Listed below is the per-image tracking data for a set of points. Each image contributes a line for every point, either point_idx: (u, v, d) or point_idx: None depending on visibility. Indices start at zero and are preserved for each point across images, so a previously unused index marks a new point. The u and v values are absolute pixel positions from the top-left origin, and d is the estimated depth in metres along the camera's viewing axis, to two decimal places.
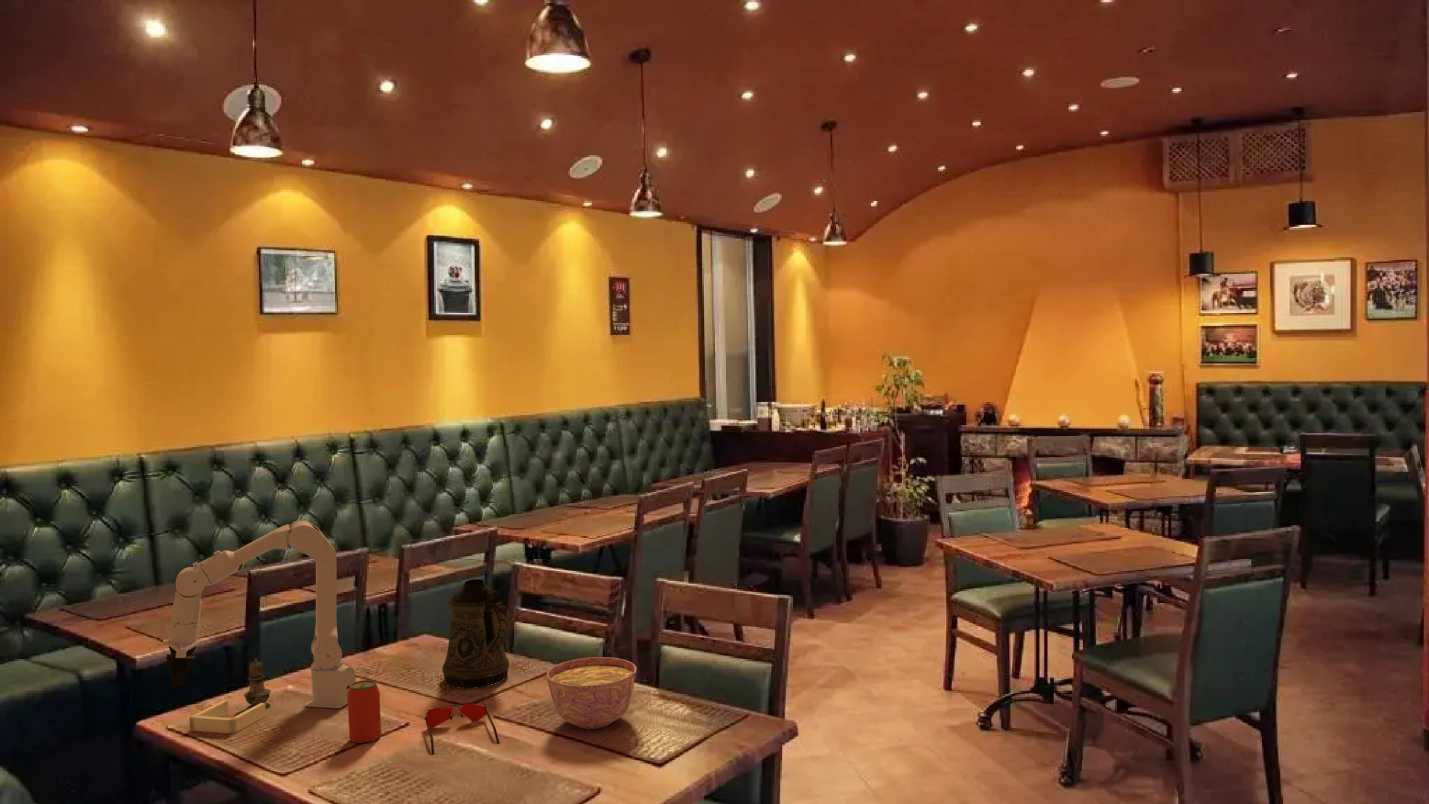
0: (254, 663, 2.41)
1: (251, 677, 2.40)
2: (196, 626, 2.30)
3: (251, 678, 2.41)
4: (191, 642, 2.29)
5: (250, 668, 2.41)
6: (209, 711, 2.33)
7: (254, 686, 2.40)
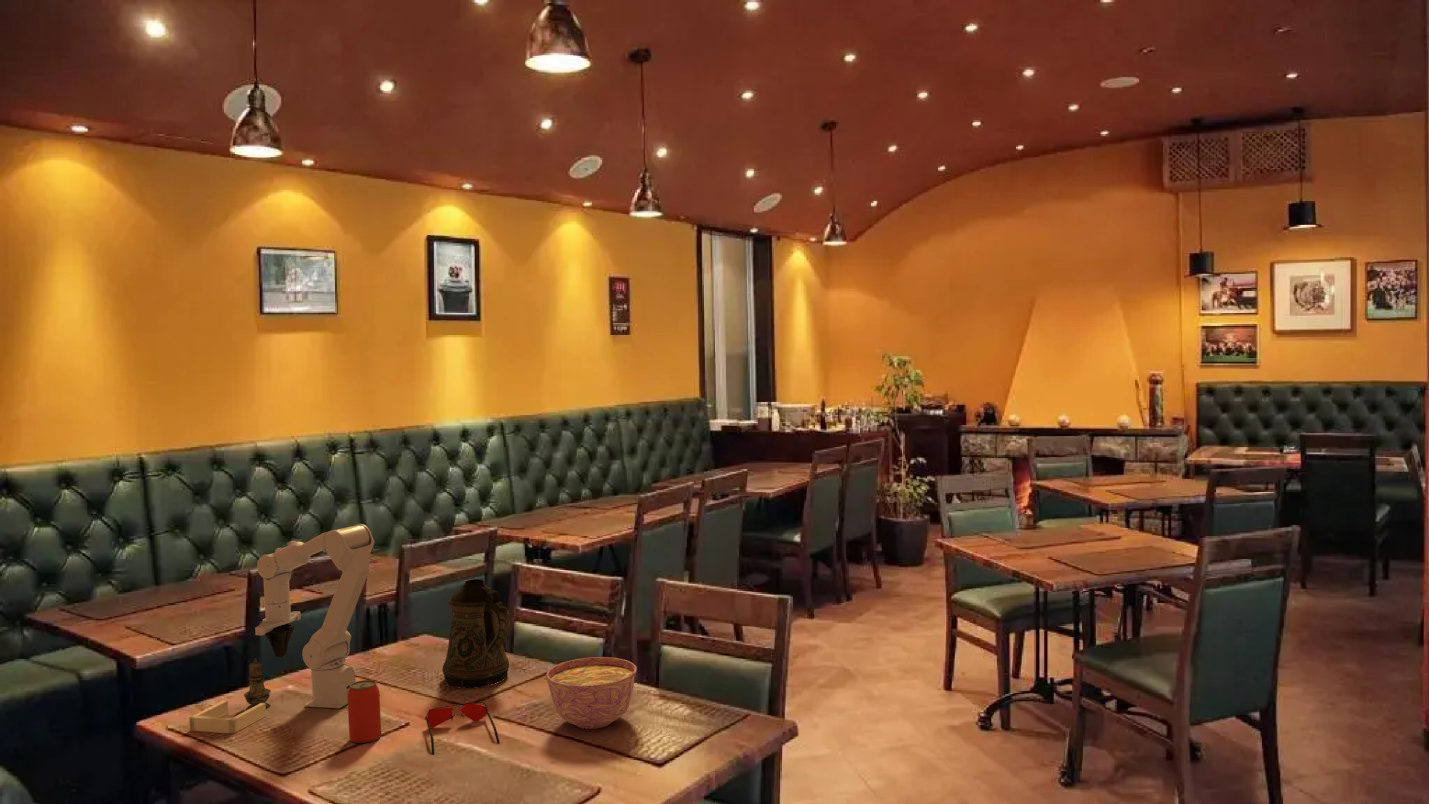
0: (254, 663, 2.41)
1: (251, 677, 2.40)
2: (282, 606, 2.48)
3: (251, 678, 2.41)
4: (278, 621, 2.47)
5: (250, 668, 2.41)
6: (209, 711, 2.33)
7: (254, 686, 2.40)
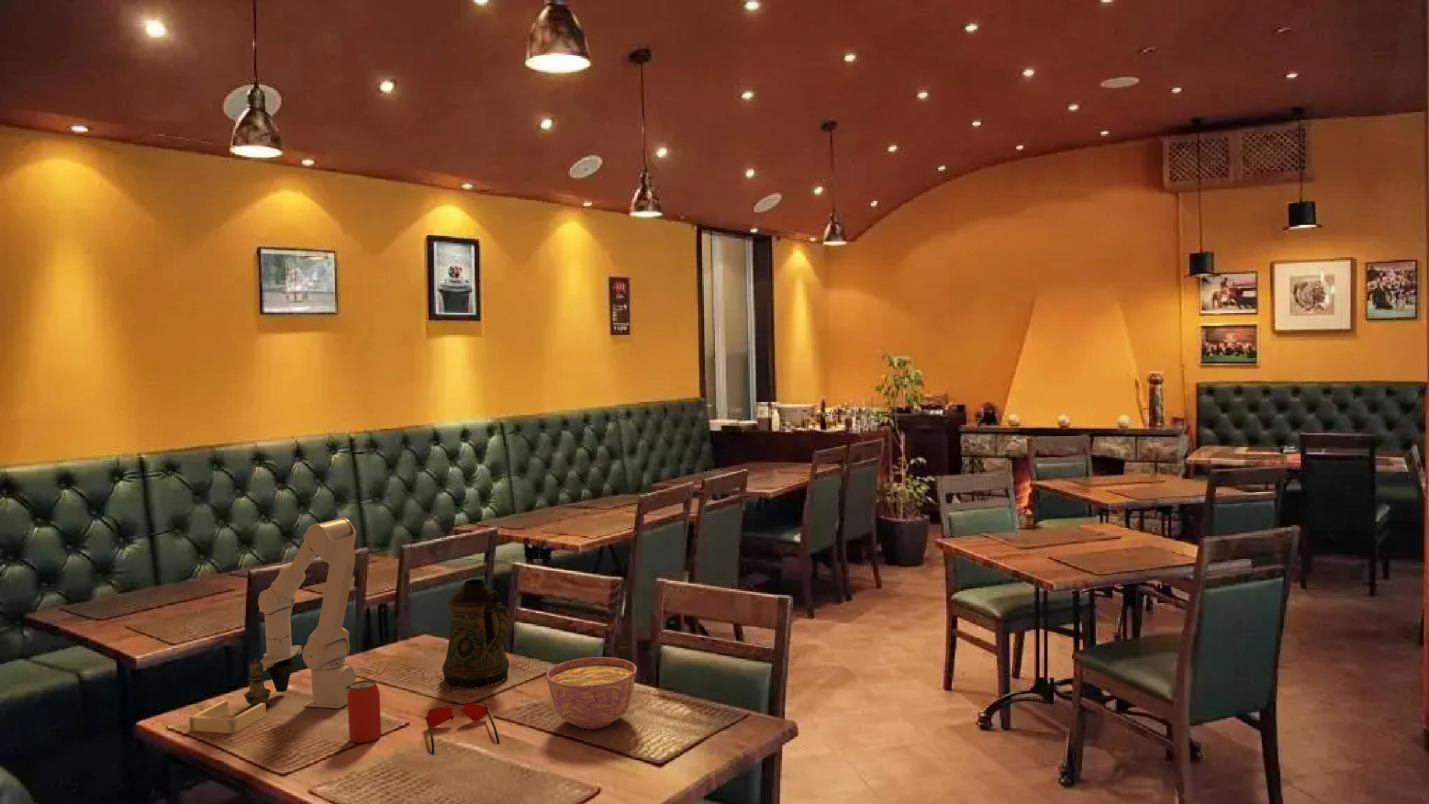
0: (254, 663, 2.41)
1: (251, 677, 2.40)
2: (283, 641, 2.48)
3: (251, 678, 2.41)
4: (279, 656, 2.47)
5: (250, 668, 2.41)
6: (209, 711, 2.33)
7: (254, 686, 2.40)
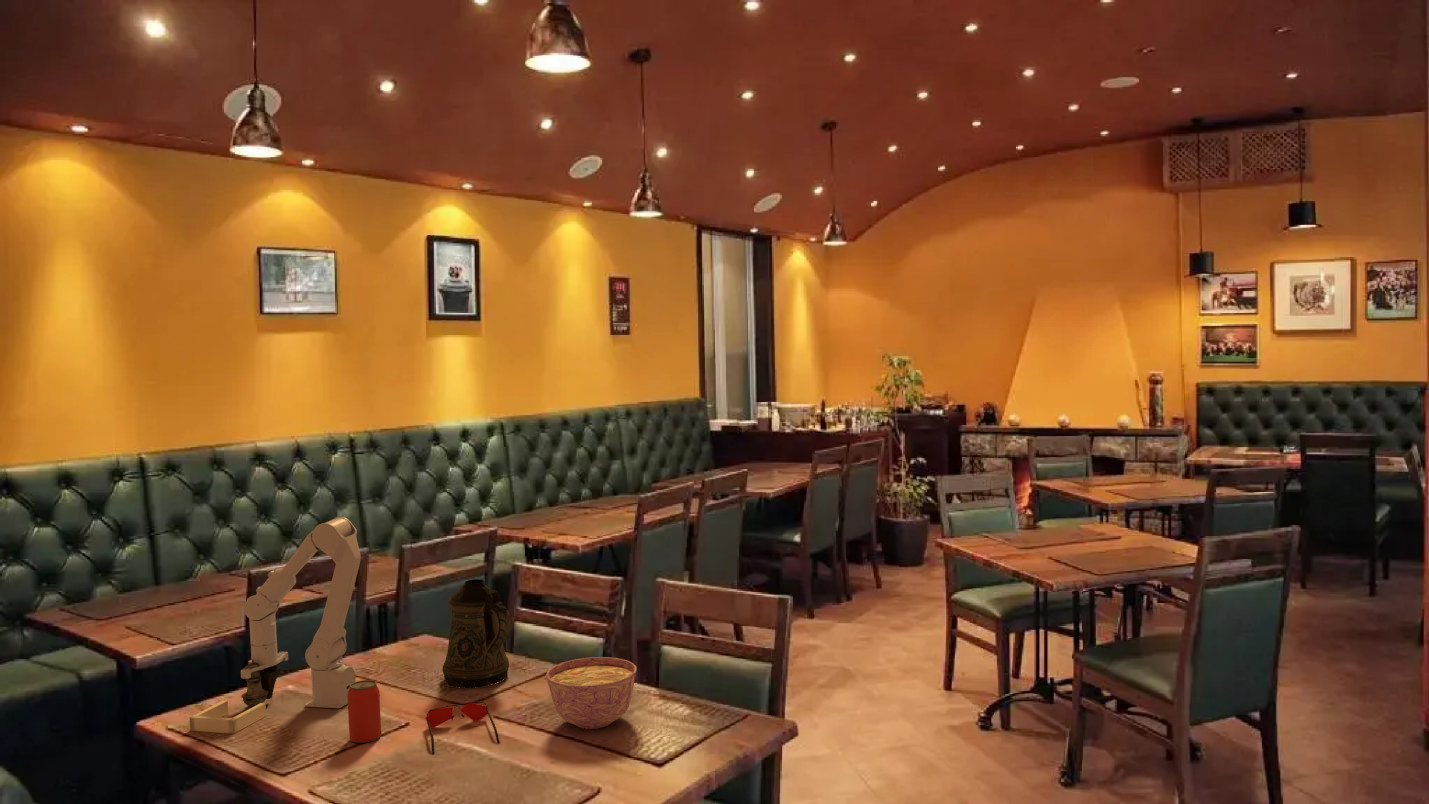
0: (251, 664, 2.40)
1: None
2: (268, 648, 2.43)
3: (248, 679, 2.40)
4: (264, 663, 2.42)
5: None
6: (209, 711, 2.33)
7: (251, 687, 2.40)
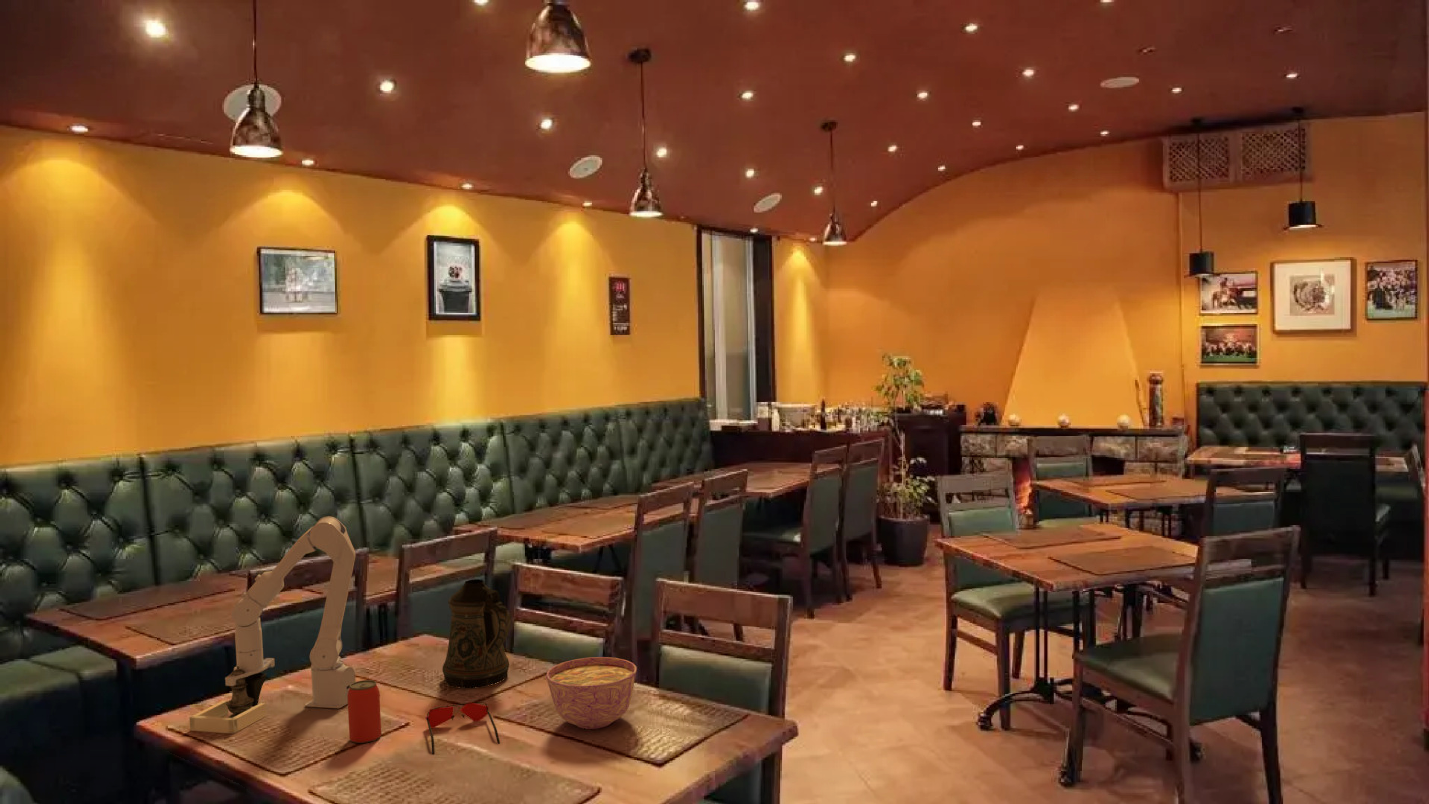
0: (236, 671, 2.35)
1: None
2: (253, 654, 2.38)
3: (233, 686, 2.35)
4: (250, 670, 2.37)
5: None
6: (209, 711, 2.33)
7: (236, 695, 2.35)
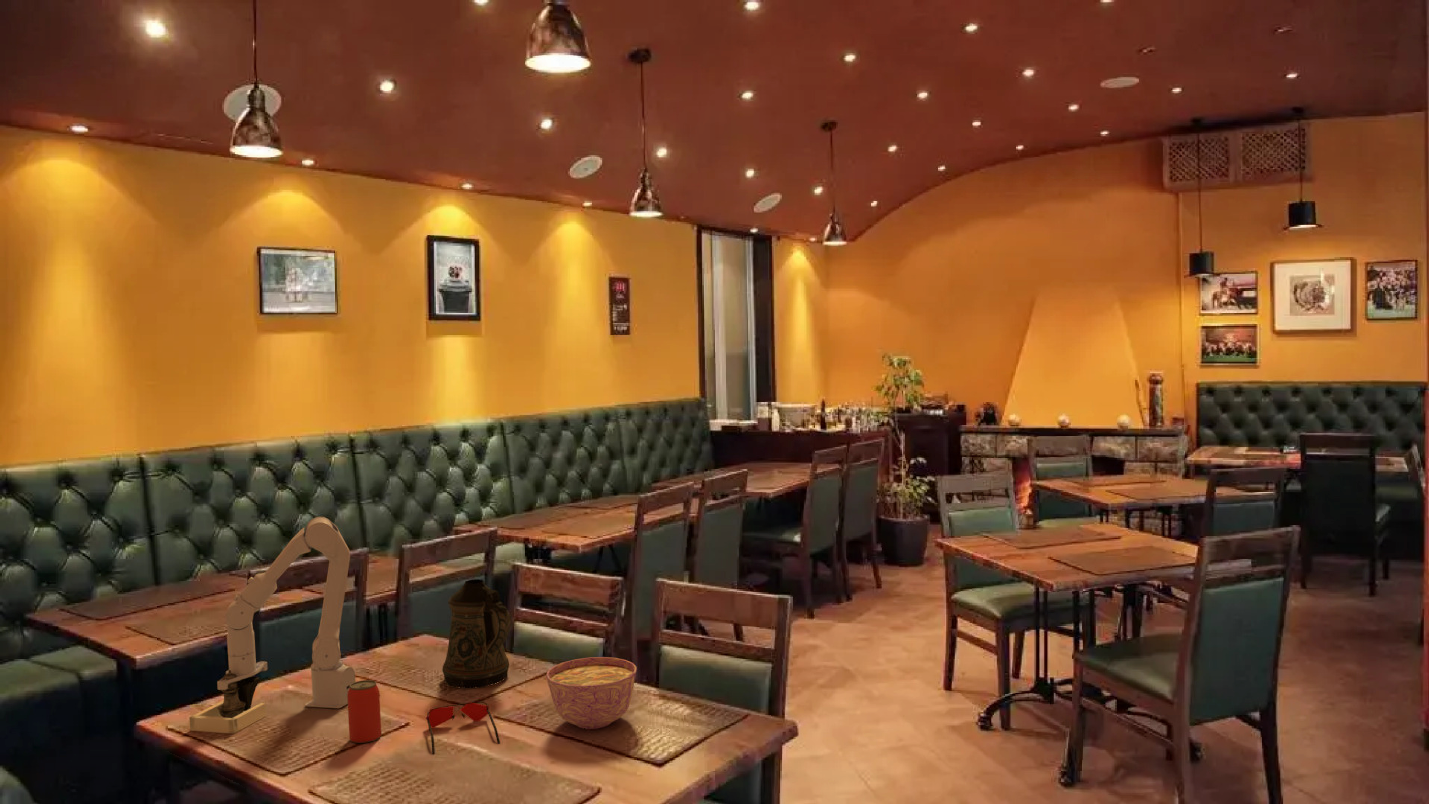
0: (228, 675, 2.32)
1: (225, 690, 2.32)
2: (246, 658, 2.35)
3: (225, 690, 2.32)
4: (242, 673, 2.35)
5: None
6: (209, 711, 2.33)
7: (228, 699, 2.32)
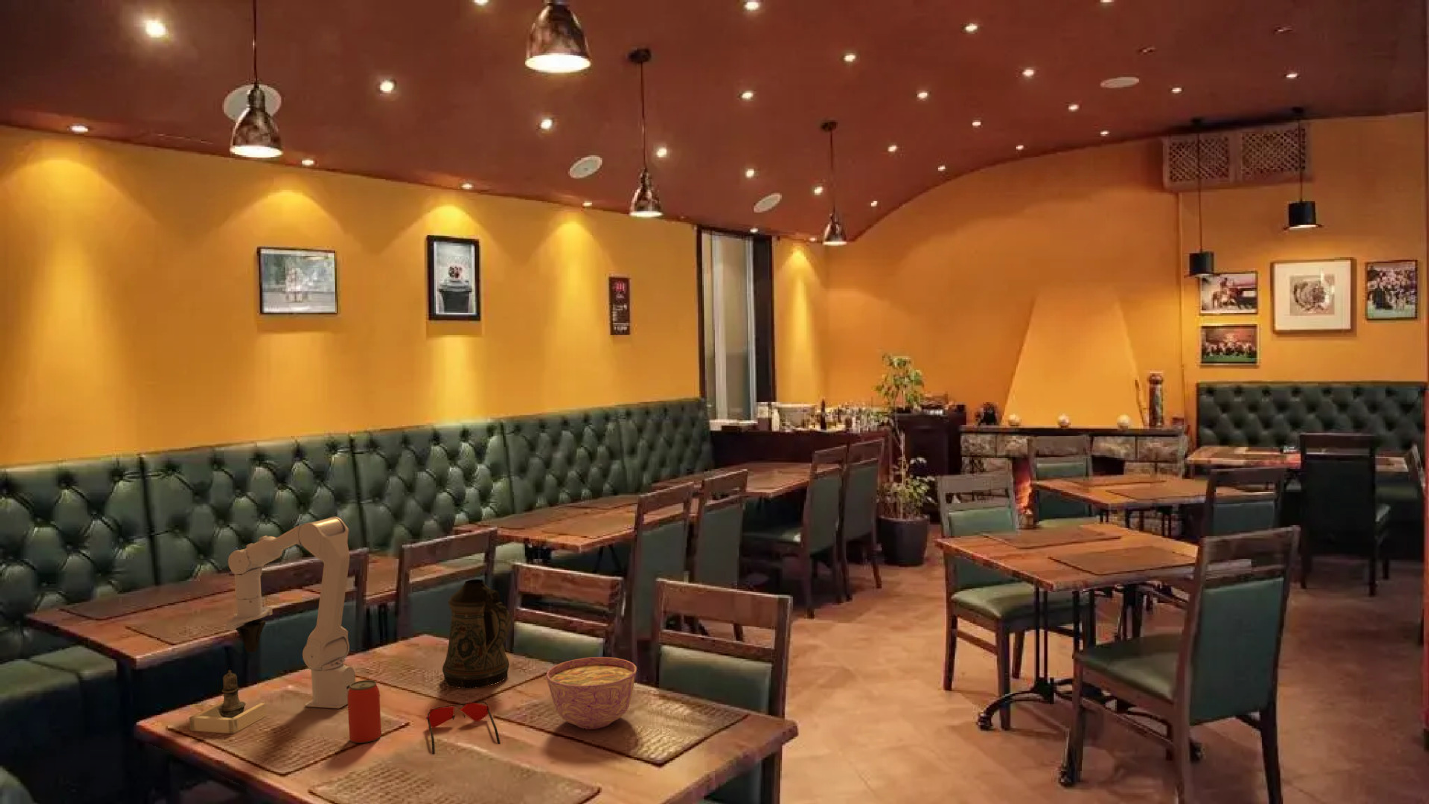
0: (228, 675, 2.32)
1: (225, 690, 2.32)
2: (253, 601, 2.49)
3: (225, 690, 2.32)
4: (249, 616, 2.49)
5: (224, 680, 2.32)
6: (209, 711, 2.33)
7: (228, 699, 2.32)
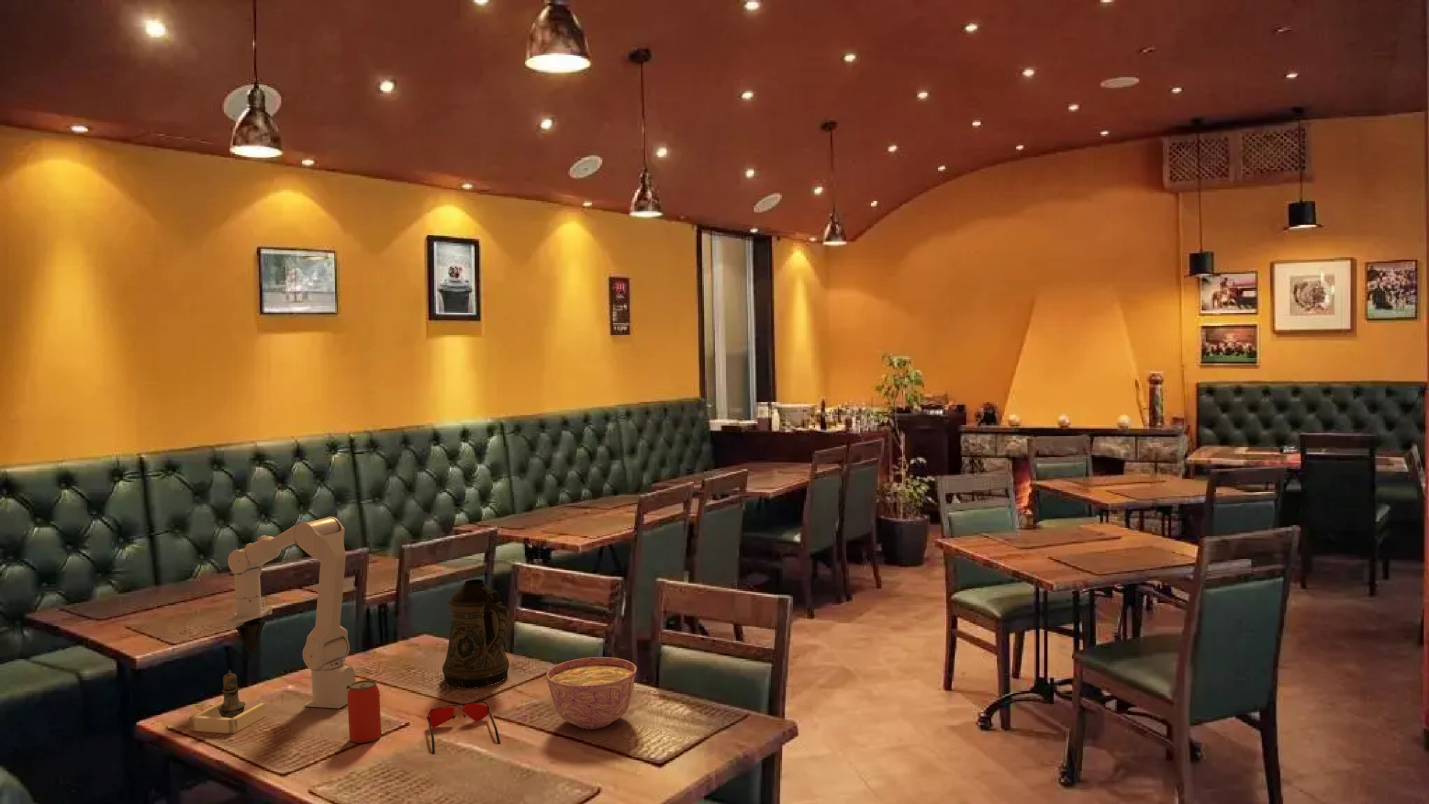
0: (228, 675, 2.32)
1: (225, 690, 2.32)
2: (252, 600, 2.51)
3: (225, 690, 2.32)
4: (249, 615, 2.50)
5: (224, 680, 2.32)
6: (209, 711, 2.33)
7: (228, 699, 2.32)
